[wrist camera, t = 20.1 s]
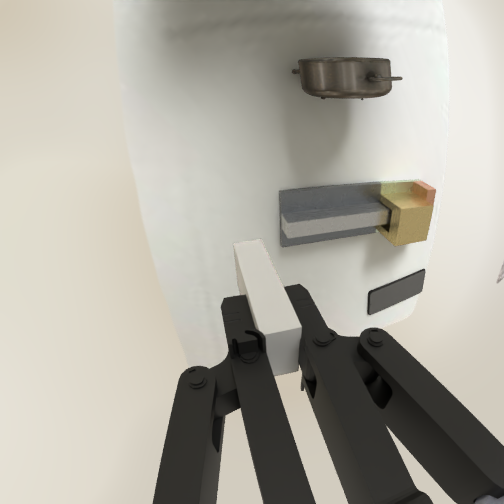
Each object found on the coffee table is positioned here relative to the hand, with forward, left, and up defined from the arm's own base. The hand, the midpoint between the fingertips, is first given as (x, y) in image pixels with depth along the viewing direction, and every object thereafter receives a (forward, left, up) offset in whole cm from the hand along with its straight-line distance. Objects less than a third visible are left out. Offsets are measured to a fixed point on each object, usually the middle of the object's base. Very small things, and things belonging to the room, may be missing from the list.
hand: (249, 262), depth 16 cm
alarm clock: (-10, +16, -27) cm, 33 cm away
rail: (+11, +22, -26) cm, 36 cm away
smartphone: (+32, +35, -27) cm, 55 cm away
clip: (+12, +30, -26) cm, 41 cm away
